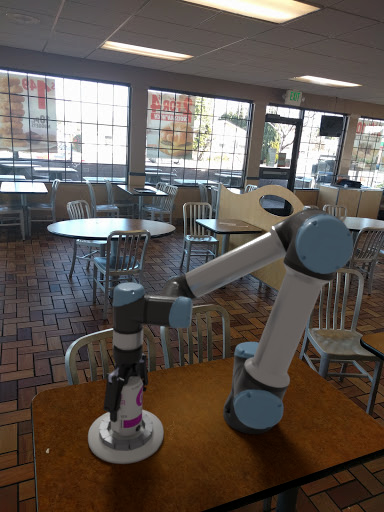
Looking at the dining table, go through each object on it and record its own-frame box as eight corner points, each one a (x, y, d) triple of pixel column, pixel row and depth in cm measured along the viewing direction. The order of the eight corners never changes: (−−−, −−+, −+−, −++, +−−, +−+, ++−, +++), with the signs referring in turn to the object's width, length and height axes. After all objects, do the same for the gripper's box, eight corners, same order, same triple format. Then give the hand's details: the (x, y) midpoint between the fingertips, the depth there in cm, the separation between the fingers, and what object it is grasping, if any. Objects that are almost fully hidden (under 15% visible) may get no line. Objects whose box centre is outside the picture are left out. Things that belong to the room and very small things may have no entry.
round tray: (177, 428, 109) (177, 419, 108) (132, 476, 92) (132, 466, 92) (121, 403, 119) (121, 395, 118) (71, 442, 102) (71, 433, 101)
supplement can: (144, 419, 109) (145, 371, 105) (137, 440, 101) (138, 389, 97) (116, 416, 109) (116, 368, 105) (106, 436, 101) (106, 385, 97)
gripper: (141, 325, 109) (139, 395, 115) (86, 356, 91) (88, 438, 97) (163, 332, 105) (160, 404, 111) (111, 366, 88) (111, 450, 94)
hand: (126, 420), depth 104 cm, fingers closed on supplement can, 8 cm apart
